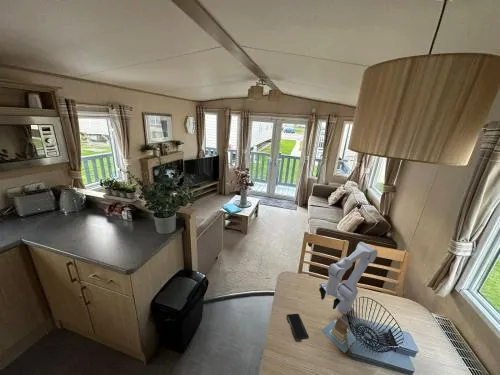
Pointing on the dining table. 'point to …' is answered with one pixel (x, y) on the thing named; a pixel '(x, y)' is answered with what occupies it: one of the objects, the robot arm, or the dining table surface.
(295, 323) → the phone
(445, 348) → the dining table surface
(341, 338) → the maple base block
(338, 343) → the board
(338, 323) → the walnut block
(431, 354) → the dining table surface
